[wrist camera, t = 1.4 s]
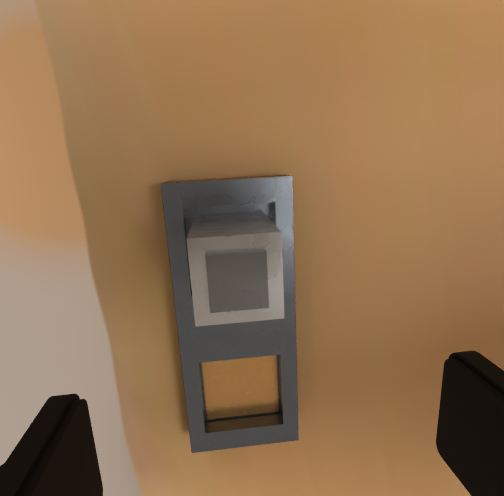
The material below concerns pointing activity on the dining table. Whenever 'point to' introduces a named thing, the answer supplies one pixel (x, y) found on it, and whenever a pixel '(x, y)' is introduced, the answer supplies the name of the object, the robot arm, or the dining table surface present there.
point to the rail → (234, 325)
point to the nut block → (235, 268)
